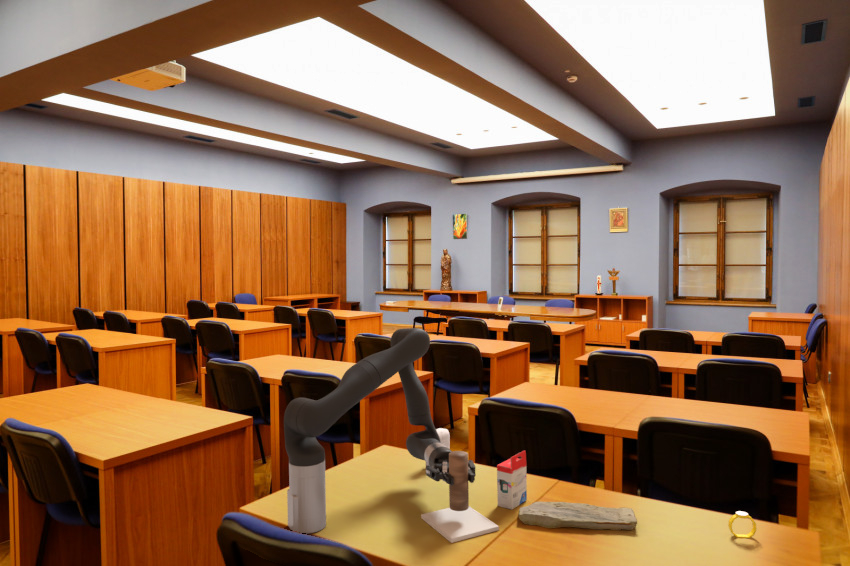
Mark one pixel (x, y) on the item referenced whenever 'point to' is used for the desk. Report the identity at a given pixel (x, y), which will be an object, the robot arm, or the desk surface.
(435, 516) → the white mat
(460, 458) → the slanted wooden cylinder
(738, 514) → the gold ring
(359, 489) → the desk surface
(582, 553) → the desk surface
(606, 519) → the stone slab
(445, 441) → the white rounded slab
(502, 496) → the ink box
